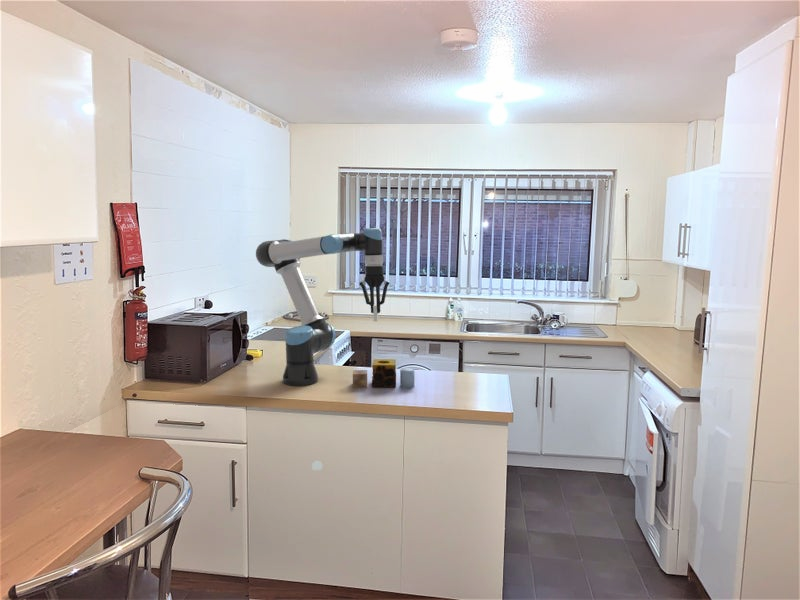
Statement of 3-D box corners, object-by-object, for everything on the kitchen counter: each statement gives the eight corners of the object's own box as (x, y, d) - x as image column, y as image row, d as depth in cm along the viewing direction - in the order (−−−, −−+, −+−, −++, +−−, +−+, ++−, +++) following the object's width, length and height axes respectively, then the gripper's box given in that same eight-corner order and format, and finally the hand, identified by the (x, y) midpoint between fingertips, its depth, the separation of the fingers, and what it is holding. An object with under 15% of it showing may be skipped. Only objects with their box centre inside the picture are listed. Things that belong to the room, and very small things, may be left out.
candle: (395, 388, 250) (395, 365, 249) (371, 388, 251) (371, 365, 249) (396, 381, 260) (396, 359, 259) (373, 381, 261) (373, 358, 259)
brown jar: (352, 388, 251) (352, 374, 250) (353, 383, 257) (353, 370, 256) (367, 387, 251) (367, 374, 250) (367, 383, 257) (367, 370, 256)
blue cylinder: (399, 387, 251) (399, 371, 250) (401, 383, 257) (401, 367, 255) (413, 388, 250) (413, 372, 249) (415, 384, 256) (415, 368, 255)
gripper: (356, 266, 247) (359, 322, 250) (388, 265, 245) (389, 322, 249) (360, 264, 254) (362, 319, 258) (390, 264, 253) (392, 319, 256)
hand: (376, 320), depth 253 cm, fingers closed
